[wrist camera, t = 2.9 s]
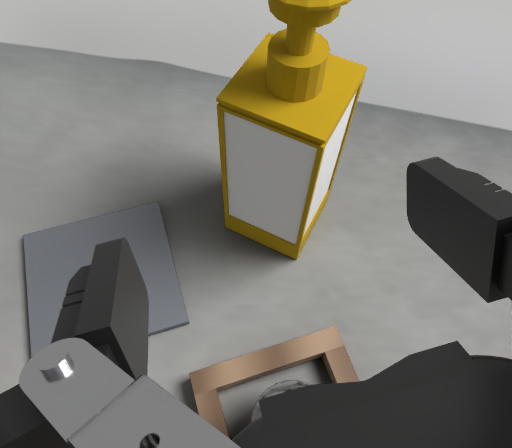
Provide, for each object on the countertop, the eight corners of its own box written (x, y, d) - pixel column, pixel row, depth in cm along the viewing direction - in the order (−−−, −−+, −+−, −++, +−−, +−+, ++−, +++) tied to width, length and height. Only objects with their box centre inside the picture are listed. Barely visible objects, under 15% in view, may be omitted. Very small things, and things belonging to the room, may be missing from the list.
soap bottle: (347, 160, 44) (436, -110, 24) (296, 259, 38) (356, 13, 18) (283, 135, 46) (316, -140, 26) (225, 226, 40) (207, -35, 20)
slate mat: (35, 370, 33) (32, 368, 33) (26, 238, 39) (23, 234, 38) (189, 323, 35) (188, 321, 35) (159, 205, 41) (158, 201, 40)
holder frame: (235, 560, 28) (234, 564, 26) (191, 377, 33) (189, 373, 32) (399, 492, 30) (407, 493, 28) (332, 331, 35) (335, 325, 34)
